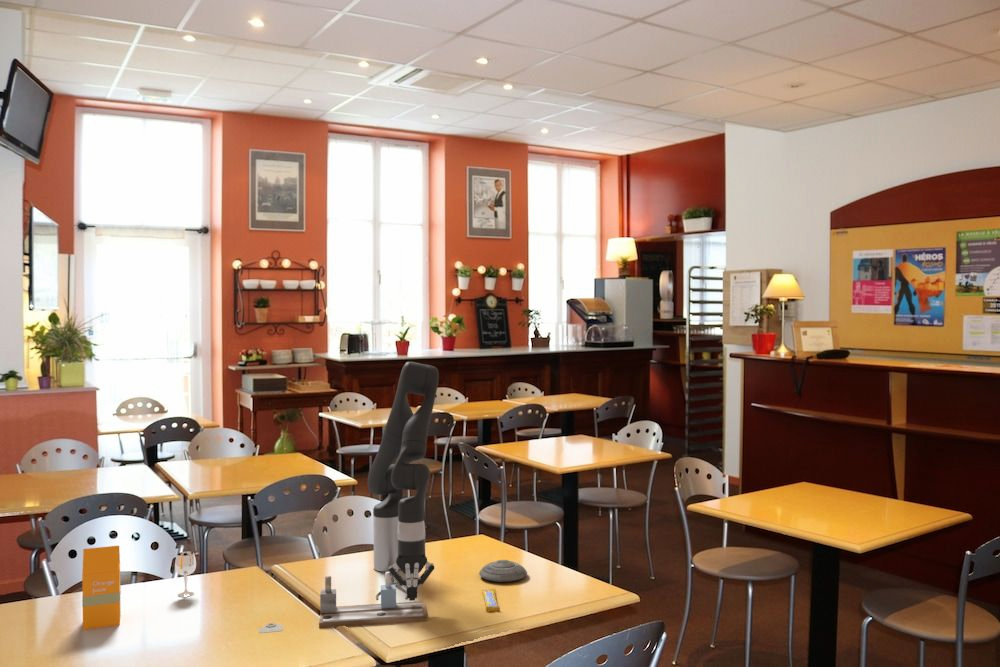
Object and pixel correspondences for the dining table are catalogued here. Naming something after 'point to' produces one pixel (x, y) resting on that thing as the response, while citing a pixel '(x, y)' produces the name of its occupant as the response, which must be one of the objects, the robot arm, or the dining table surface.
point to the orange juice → (101, 587)
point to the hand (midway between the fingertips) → (411, 599)
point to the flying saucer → (503, 571)
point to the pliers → (396, 586)
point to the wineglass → (185, 568)
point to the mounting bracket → (271, 628)
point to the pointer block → (388, 593)
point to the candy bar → (490, 600)
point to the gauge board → (365, 611)
